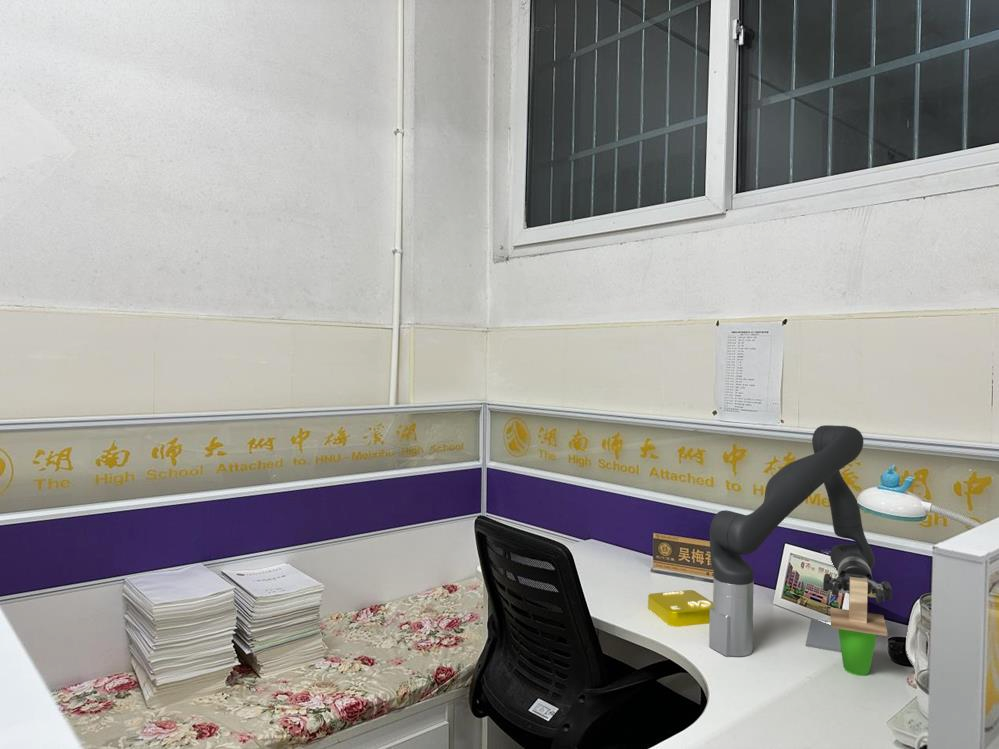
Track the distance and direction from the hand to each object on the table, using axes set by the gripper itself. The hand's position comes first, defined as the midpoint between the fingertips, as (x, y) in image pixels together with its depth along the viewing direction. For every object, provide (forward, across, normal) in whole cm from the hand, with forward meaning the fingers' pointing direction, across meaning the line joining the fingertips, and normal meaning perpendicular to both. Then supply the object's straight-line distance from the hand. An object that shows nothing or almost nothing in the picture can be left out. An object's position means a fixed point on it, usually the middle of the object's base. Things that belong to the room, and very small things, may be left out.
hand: (858, 596), depth 160 cm
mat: (-18, -4, +17) cm, 25 cm away
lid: (0, 0, +6) cm, 6 cm away
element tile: (-18, -42, +18) cm, 49 cm away
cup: (0, 0, +17) cm, 17 cm away
